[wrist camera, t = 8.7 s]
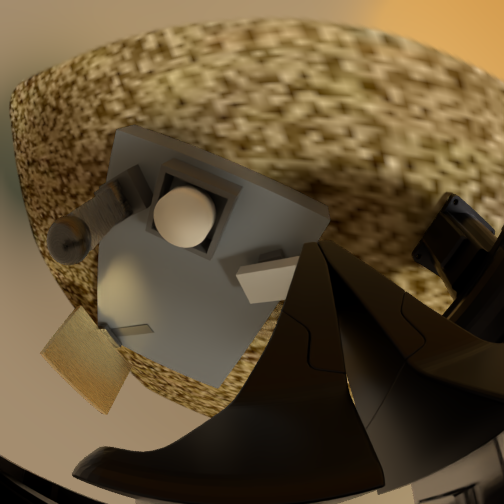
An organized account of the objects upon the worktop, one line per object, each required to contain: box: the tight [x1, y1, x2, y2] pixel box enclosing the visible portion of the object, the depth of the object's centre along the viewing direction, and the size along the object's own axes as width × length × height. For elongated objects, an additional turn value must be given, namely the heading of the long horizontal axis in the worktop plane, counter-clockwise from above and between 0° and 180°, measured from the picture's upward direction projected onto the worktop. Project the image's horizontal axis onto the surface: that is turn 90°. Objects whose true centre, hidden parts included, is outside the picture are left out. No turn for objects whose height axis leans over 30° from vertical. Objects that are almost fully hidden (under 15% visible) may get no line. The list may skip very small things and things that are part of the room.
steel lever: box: [47, 179, 134, 265], centre depth 13 cm, size 2×3×9 cm
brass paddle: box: [40, 306, 132, 415], centre depth 25 cm, size 3×10×8 cm, turn 22°
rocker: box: [236, 256, 299, 304], centre depth 19 cm, size 4×3×1 cm, turn 112°
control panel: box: [97, 125, 330, 388], centre depth 24 cm, size 16×24×4 cm, turn 157°
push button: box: [154, 184, 216, 248], centre depth 17 cm, size 4×4×2 cm
